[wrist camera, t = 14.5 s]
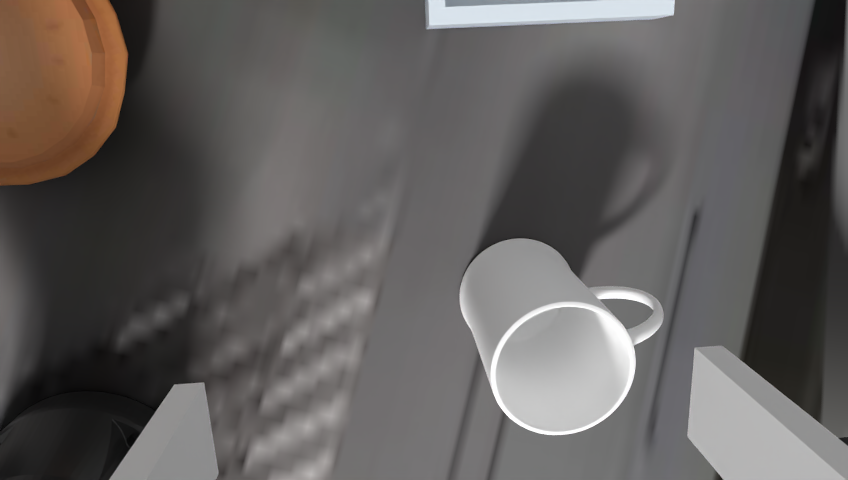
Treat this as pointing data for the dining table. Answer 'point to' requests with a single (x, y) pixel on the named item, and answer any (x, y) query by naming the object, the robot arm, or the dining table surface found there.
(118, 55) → the pie
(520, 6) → the tray
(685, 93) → the dining table surface
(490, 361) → the mug
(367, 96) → the dining table surface
